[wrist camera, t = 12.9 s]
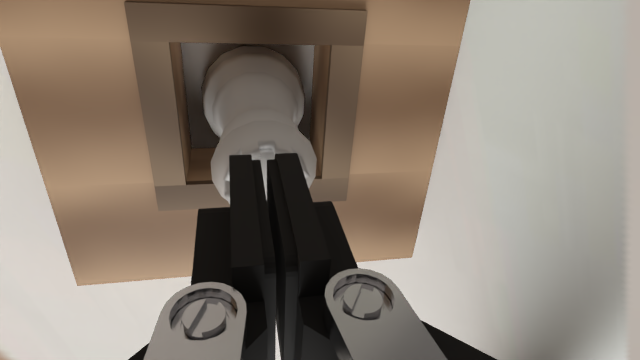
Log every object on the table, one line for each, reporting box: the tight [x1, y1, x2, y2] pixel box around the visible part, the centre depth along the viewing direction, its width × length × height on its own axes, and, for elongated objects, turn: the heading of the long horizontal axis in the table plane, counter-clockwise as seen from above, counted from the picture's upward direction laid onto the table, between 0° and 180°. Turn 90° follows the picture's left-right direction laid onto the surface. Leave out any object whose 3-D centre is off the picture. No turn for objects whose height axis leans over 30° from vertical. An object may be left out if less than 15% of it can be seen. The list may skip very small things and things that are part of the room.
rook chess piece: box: [201, 46, 317, 204], centre depth 15 cm, size 4×4×8 cm
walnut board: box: [0, 0, 470, 286], centre depth 17 cm, size 16×16×3 cm
